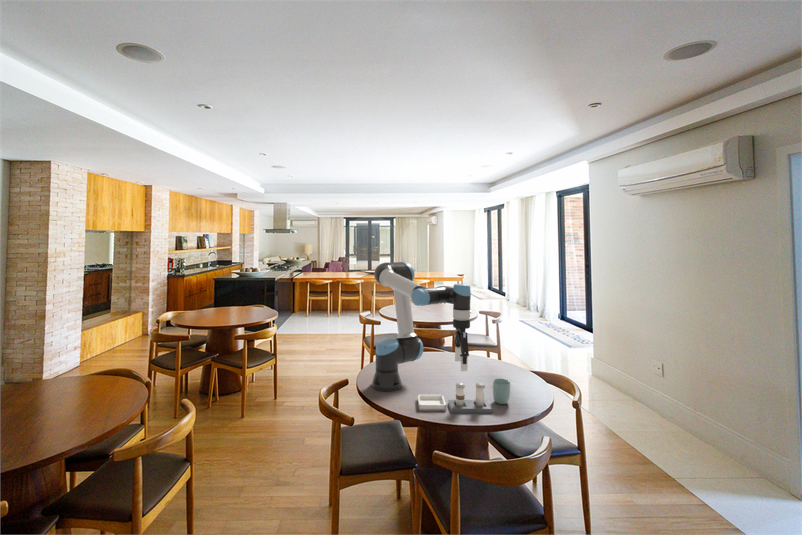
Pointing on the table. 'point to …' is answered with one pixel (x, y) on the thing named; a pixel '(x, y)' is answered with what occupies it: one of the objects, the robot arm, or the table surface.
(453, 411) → the holder
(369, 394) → the table surface
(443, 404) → the tray
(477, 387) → the cylinder
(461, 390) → the cylinder
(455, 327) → the robot arm
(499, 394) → the cup
